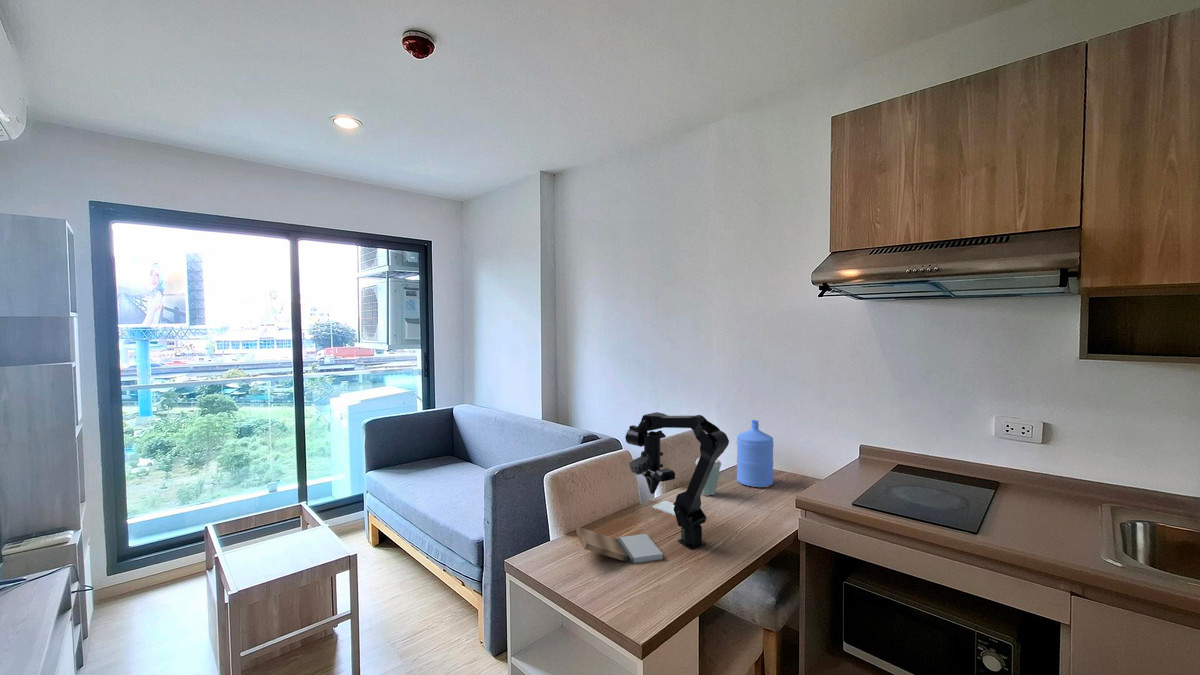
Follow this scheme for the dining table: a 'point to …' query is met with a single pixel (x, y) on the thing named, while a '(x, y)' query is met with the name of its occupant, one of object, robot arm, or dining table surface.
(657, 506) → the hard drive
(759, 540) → the dining table surface
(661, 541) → the dining table surface
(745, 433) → the water jug
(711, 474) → the disposable coffee cup
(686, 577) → the dining table surface
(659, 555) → the base board
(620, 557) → the plank
